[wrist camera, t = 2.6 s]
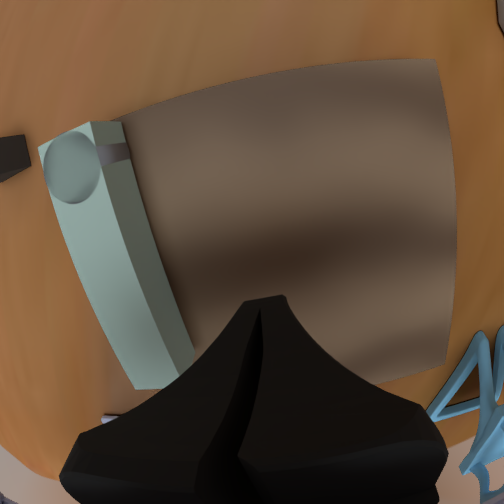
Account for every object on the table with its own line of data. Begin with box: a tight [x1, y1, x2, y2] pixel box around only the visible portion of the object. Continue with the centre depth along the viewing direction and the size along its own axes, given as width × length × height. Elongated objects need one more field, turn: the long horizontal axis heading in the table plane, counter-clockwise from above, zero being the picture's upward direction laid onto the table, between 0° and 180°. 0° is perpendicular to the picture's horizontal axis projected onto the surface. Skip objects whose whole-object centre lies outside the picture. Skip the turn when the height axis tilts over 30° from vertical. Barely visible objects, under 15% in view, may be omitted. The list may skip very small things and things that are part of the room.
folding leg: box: [38, 121, 195, 390], centre depth 12 cm, size 11×3×2 cm, turn 13°
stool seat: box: [111, 59, 457, 385], centre depth 15 cm, size 16×16×2 cm
